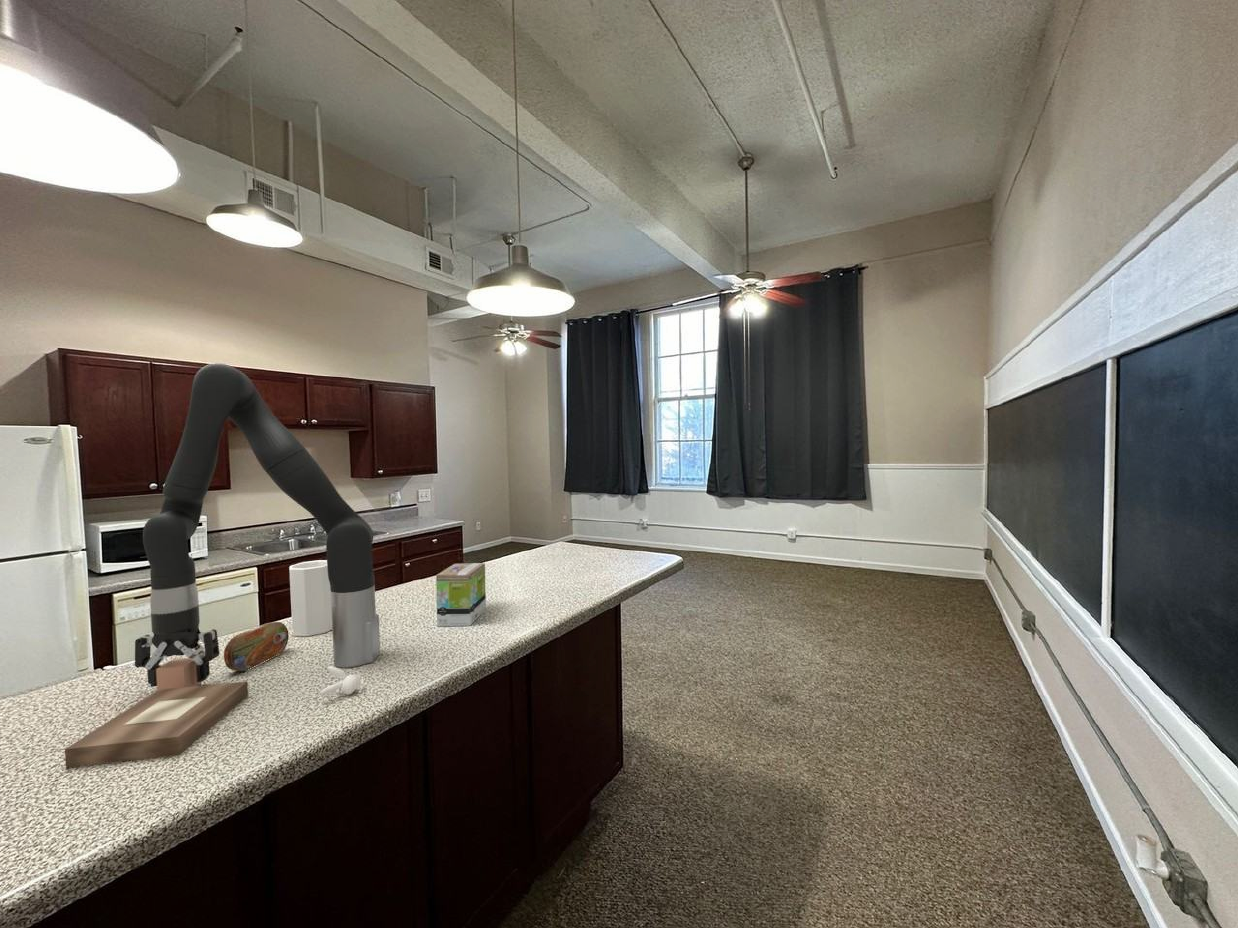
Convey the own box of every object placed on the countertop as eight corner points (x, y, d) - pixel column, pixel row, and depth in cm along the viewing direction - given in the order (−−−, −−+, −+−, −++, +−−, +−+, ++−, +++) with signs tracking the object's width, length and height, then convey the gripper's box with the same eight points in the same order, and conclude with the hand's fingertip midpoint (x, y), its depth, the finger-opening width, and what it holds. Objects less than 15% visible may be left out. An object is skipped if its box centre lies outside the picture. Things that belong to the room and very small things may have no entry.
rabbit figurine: (362, 697, 100) (320, 688, 96) (355, 708, 101) (313, 699, 98) (370, 671, 105) (330, 661, 101) (363, 681, 106) (323, 672, 103)
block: (201, 684, 108) (199, 656, 108) (185, 695, 103) (183, 666, 103) (175, 686, 107) (173, 658, 107) (157, 697, 102) (156, 669, 102)
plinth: (248, 695, 102) (247, 680, 102) (179, 754, 82) (178, 735, 82) (158, 704, 99) (158, 688, 99) (65, 767, 80) (64, 747, 79)
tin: (233, 677, 111) (231, 640, 111) (221, 676, 111) (219, 639, 111) (290, 650, 126) (289, 617, 125) (280, 649, 126) (278, 616, 126)
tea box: (472, 626, 139) (470, 573, 138) (436, 627, 139) (434, 574, 139) (487, 609, 154) (485, 561, 154) (454, 609, 154) (452, 562, 154)
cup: (345, 626, 142) (342, 562, 141) (303, 640, 132) (300, 570, 132) (325, 620, 148) (322, 558, 147) (283, 632, 138) (280, 566, 138)
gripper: (224, 598, 110) (227, 671, 110) (150, 603, 107) (154, 678, 108) (201, 609, 102) (205, 687, 103) (121, 615, 100) (126, 695, 100)
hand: (179, 682), depth 105 cm, fingers open, 8 cm apart
